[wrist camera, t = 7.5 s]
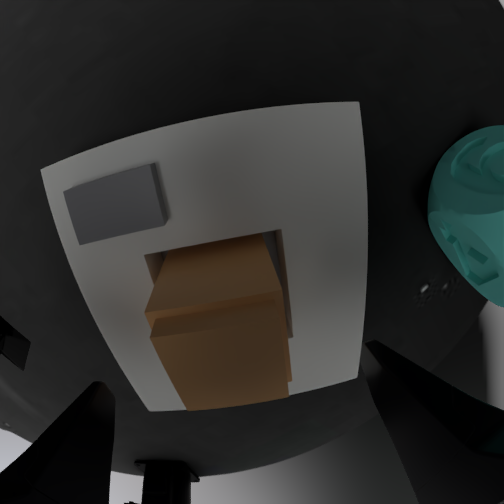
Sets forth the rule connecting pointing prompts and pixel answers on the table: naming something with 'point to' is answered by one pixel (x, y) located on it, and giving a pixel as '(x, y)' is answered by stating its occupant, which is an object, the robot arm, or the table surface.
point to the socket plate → (224, 228)
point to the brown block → (221, 324)
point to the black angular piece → (13, 344)
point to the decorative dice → (472, 209)
